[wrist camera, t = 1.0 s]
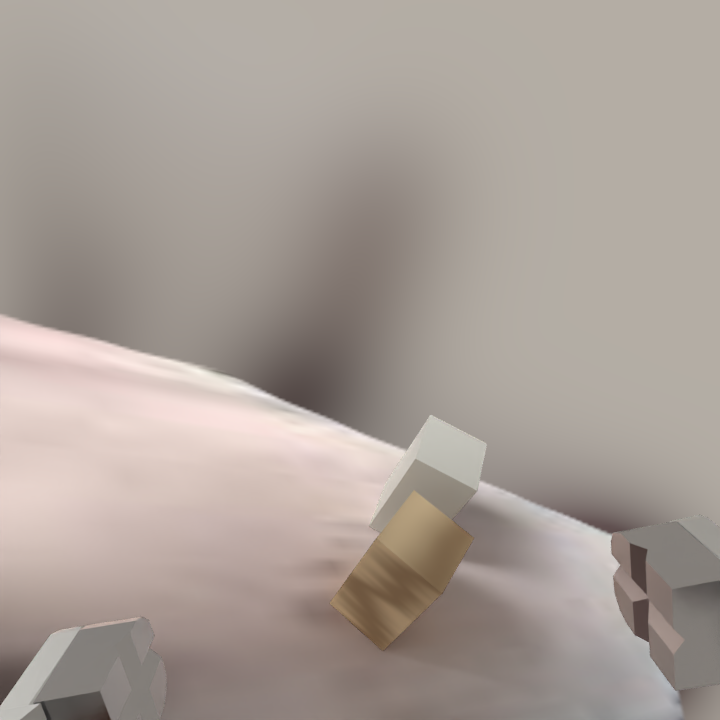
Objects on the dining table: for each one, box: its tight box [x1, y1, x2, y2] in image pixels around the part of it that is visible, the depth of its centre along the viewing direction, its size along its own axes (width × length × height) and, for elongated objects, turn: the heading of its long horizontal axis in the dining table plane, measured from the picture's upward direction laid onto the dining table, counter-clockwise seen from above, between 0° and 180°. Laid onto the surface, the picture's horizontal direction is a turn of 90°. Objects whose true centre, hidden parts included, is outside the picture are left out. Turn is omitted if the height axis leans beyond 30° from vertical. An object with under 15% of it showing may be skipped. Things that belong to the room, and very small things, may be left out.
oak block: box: [330, 490, 474, 651], centre depth 38 cm, size 5×5×10 cm
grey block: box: [369, 415, 487, 533], centre depth 44 cm, size 5×5×10 cm
